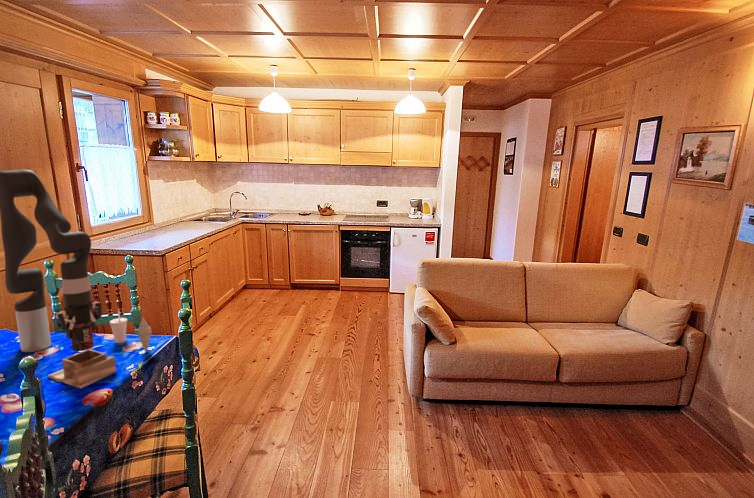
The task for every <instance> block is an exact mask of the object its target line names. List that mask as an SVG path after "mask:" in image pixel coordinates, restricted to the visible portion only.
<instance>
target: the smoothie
mask: <svg viewBox="0 0 754 498" xmlns="http://www.w3.org/2000/svg"><path fill="white" fill-rule="evenodd" d="M120 312H121V311H120V310H118V311H117V314H118V315H117V316H118V317H117V318H114V319H111V320H110V321H109V325H110V328H111V330H112V331H111V332H112V335H113V339H114V342H115V343H116V344H122V343H125V342H126V340H127V339H126V338H127V326H128V324H127V323H128V318H126V317H121V314H120Z"/></svg>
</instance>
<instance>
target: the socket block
mask: <svg viewBox="0 0 754 498" xmlns="http://www.w3.org/2000/svg"><path fill="white" fill-rule="evenodd" d="M107 357H108V356H107V353H105V352H102V351H98V350H95V349H92V348H90V349H87V350H84V351H79V352H78V353H76V354H72V355H70V356H67V357H65V358H63V359H62V360H61V361H62V367H63V368H62V369H63V370H64V377H67V378H70V379H73V380H76V376H75V371H76V370H79V369H81V368H83V367H86V366H88V365H90V364H93V363H95V362H98V361H100V360H102V359H105V358H107Z"/></svg>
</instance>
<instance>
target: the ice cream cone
mask: <svg viewBox="0 0 754 498" xmlns="http://www.w3.org/2000/svg"><path fill="white" fill-rule="evenodd" d="M136 332H137V336H138V338H139V340H140V342H141V344H142V347H143V349H144V351H145V352H148V349H149V345H150V341H151V336H152V333H153V332H152V328H151V326H150V325H149V324H148V322H147V321H146V320H145V318H144V317H142V319H141V321H140V323H139V327H137V331H136Z"/></svg>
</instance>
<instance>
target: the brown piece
mask: <svg viewBox="0 0 754 498" xmlns="http://www.w3.org/2000/svg"><path fill="white" fill-rule="evenodd" d="M115 373H117V368H116V357H115V356H113V355H110V356H107V358H105V359H102V360H100V361H98V362H95V363H93V364H90V365H88V366H86V367H83V368H81V369H79V370H76V371H75V376H76V380H73V379H70V378H67V377H64V370H63V368H61V369H59V370H57V371H55V372H52V373H50V374H48V378H49V379H52V380H55V381H58V382H61V383H64V384H67V385H70V386H72V387H75V388H79V389H84V387H88V386H89V385H91V384H94V383H95V382H98V381H100V380H102V379H104V378H107V377H109V376H111V375H113V374H115Z"/></svg>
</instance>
